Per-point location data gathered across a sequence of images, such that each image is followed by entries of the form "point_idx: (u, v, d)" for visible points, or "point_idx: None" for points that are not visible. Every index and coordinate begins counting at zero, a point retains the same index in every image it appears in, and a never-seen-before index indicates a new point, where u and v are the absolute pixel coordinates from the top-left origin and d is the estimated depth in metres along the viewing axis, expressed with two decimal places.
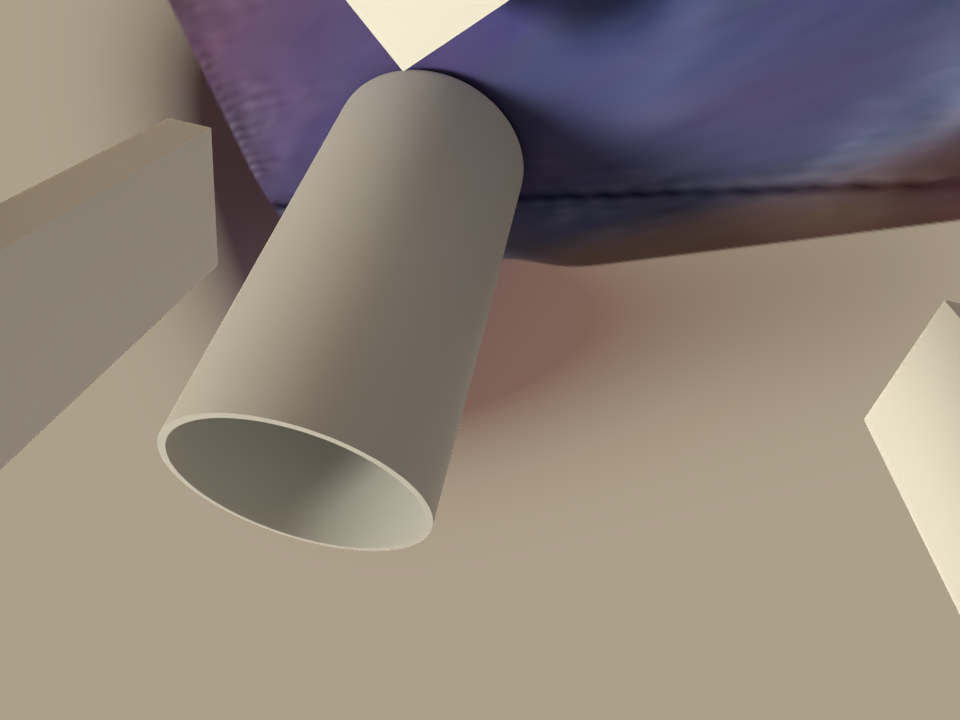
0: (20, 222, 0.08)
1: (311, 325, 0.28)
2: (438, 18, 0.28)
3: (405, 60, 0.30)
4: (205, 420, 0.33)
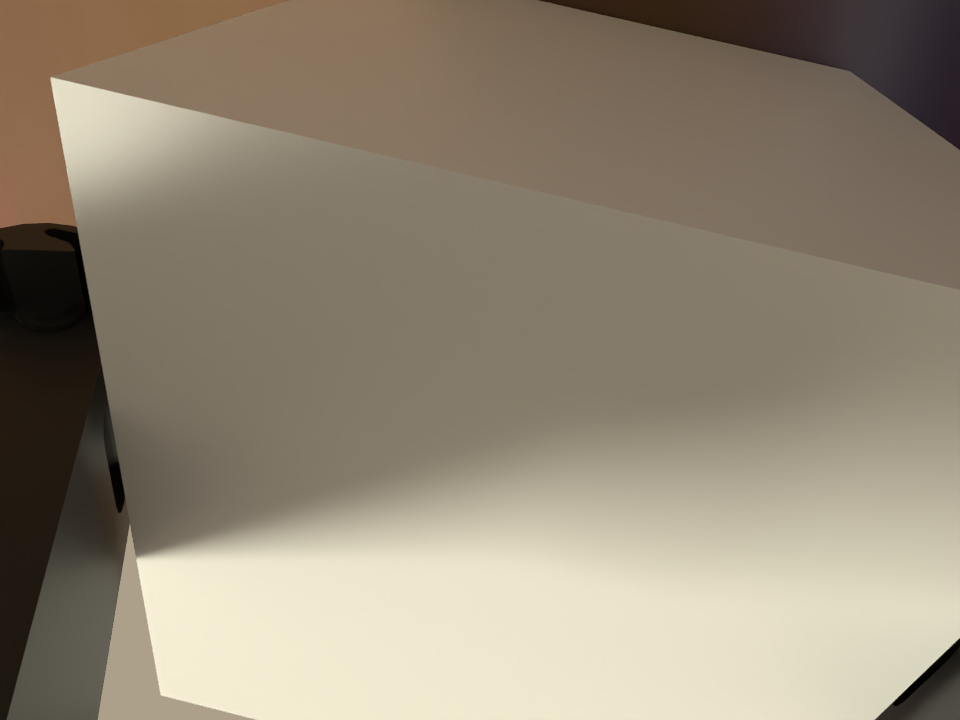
0: None
1: None
2: None
3: None
4: None
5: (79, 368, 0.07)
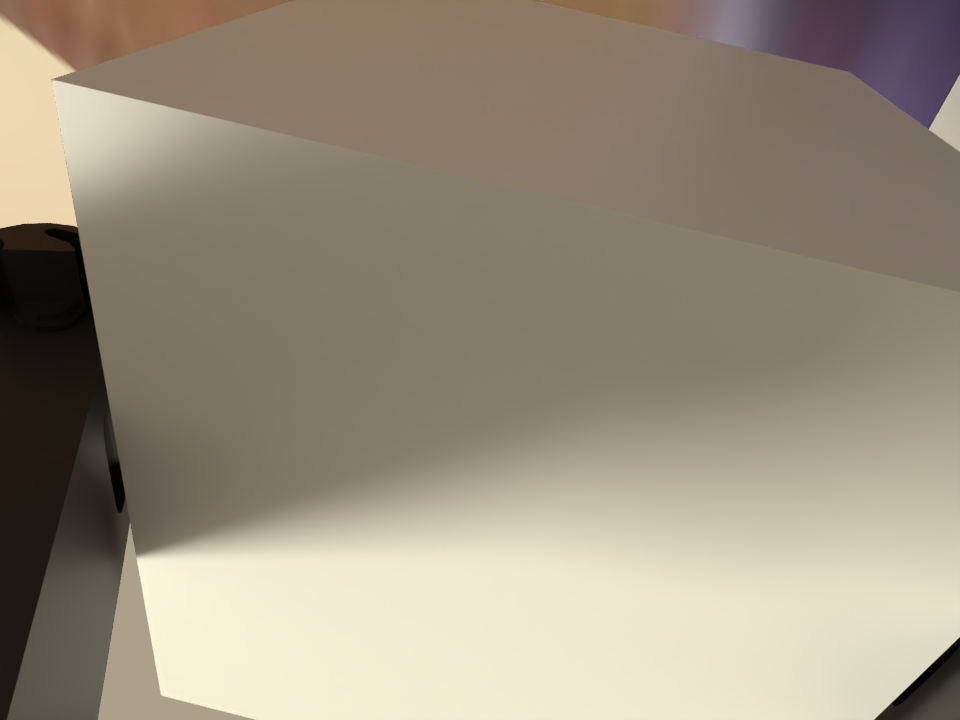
0: None
1: None
2: None
3: None
4: None
5: (79, 368, 0.07)
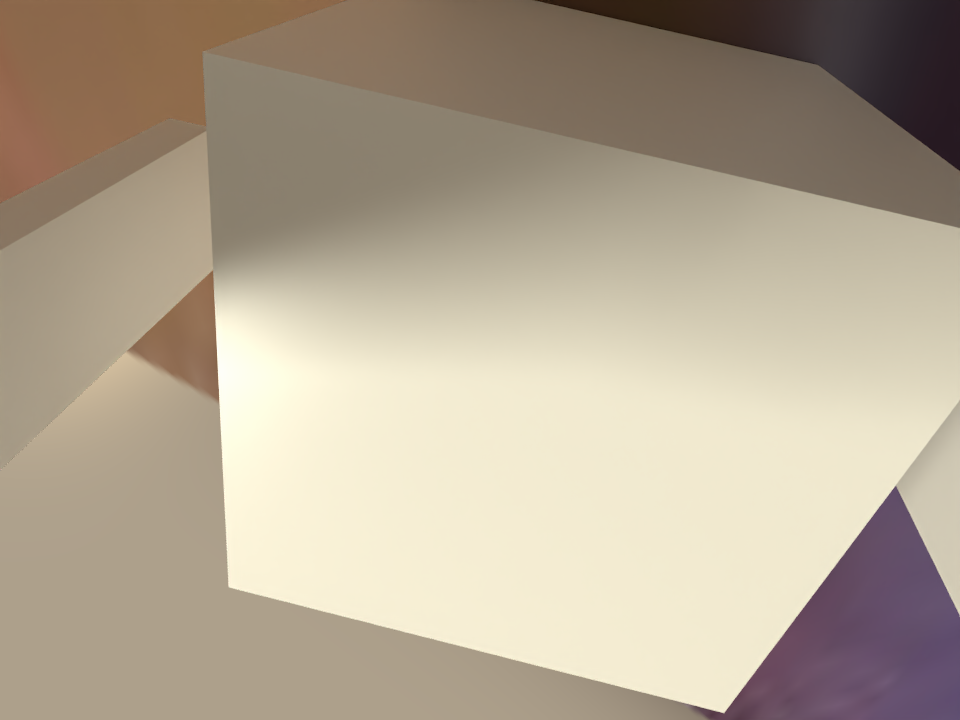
0: (20, 222, 0.08)
1: None
2: None
3: None
4: None
5: None
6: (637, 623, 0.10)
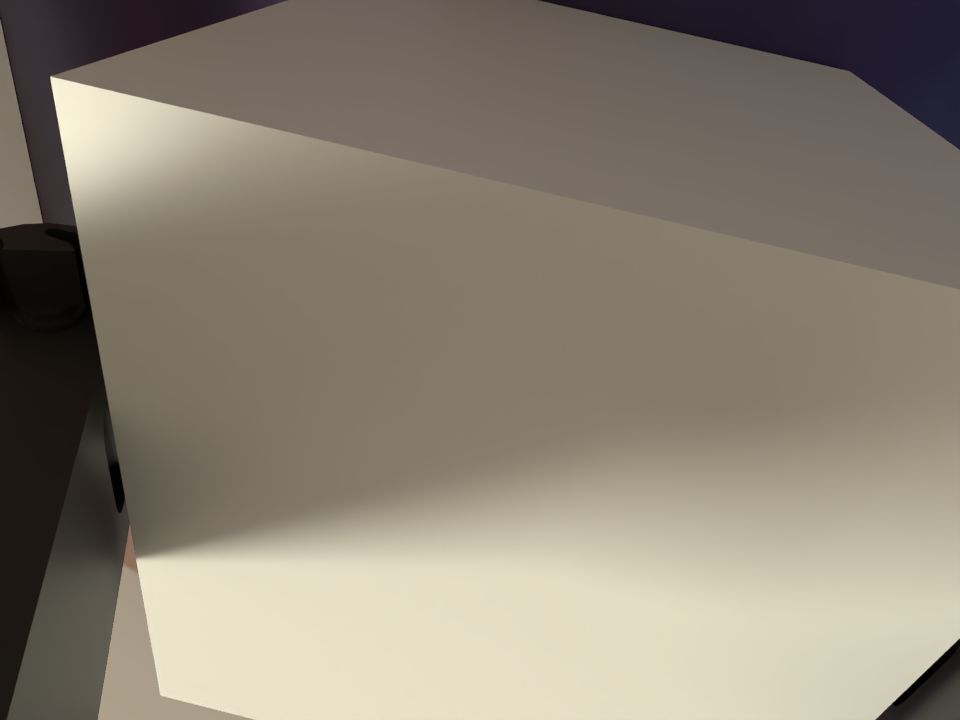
0: None
1: None
2: (767, 718, 0.07)
3: None
4: None
5: (79, 368, 0.07)
6: None
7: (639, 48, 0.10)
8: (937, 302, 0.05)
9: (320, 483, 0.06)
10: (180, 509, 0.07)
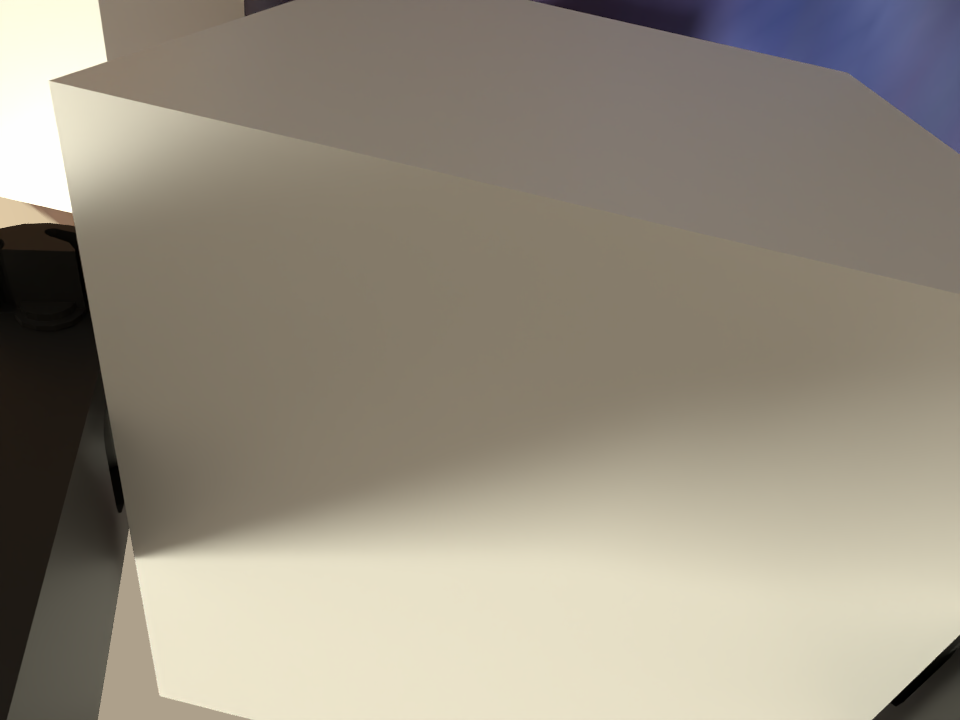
0: None
1: None
2: (764, 719, 0.07)
3: None
4: None
5: (79, 368, 0.07)
6: None
7: (637, 50, 0.10)
8: (930, 305, 0.05)
9: (318, 485, 0.07)
10: (178, 510, 0.07)
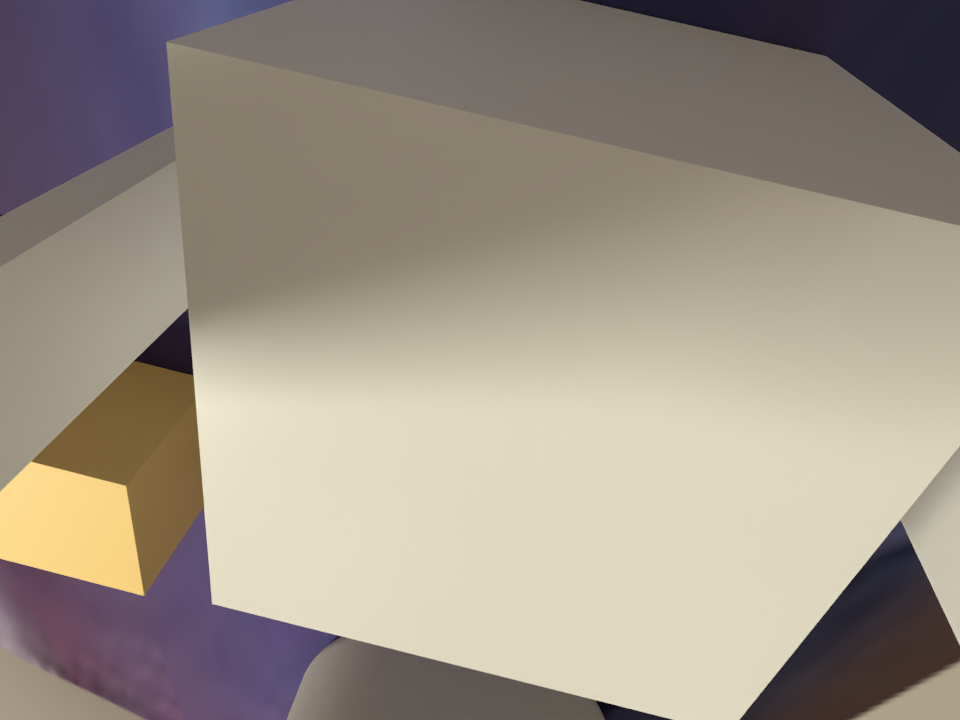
0: (49, 220, 0.08)
1: None
2: (743, 603, 0.09)
3: (718, 713, 0.10)
4: None
5: None
6: None
7: (635, 33, 0.11)
8: (865, 218, 0.06)
9: (365, 391, 0.08)
10: (243, 419, 0.08)
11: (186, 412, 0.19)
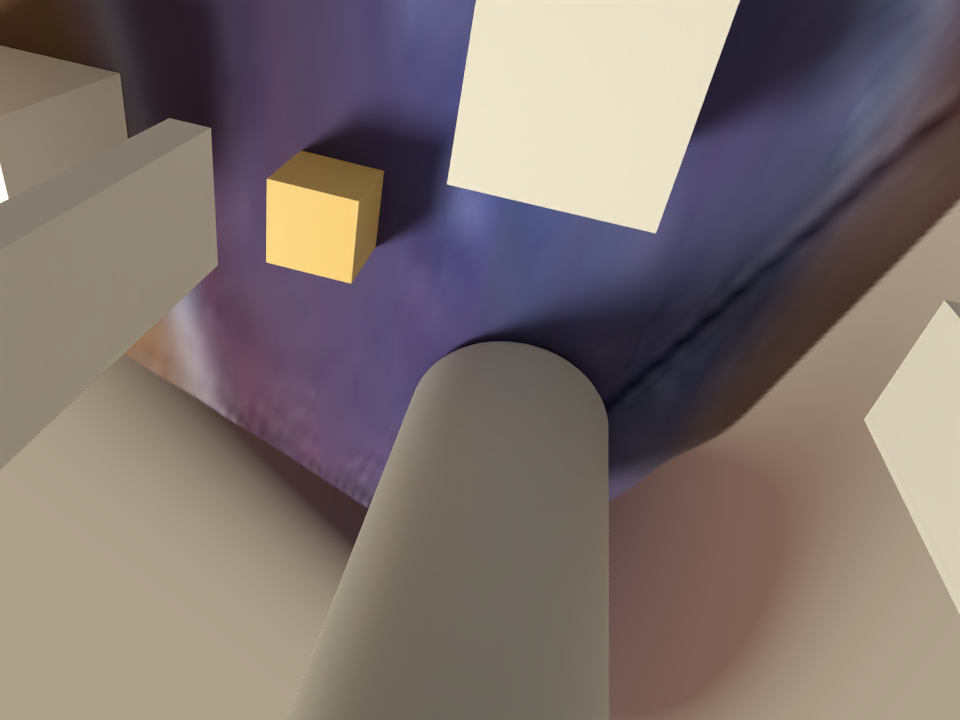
0: (20, 222, 0.08)
1: (337, 653, 0.25)
2: (656, 151, 0.24)
3: (651, 220, 0.26)
4: None
5: None
6: None
7: None
8: None
9: (526, 62, 0.23)
10: (480, 79, 0.24)
11: (375, 180, 0.34)
